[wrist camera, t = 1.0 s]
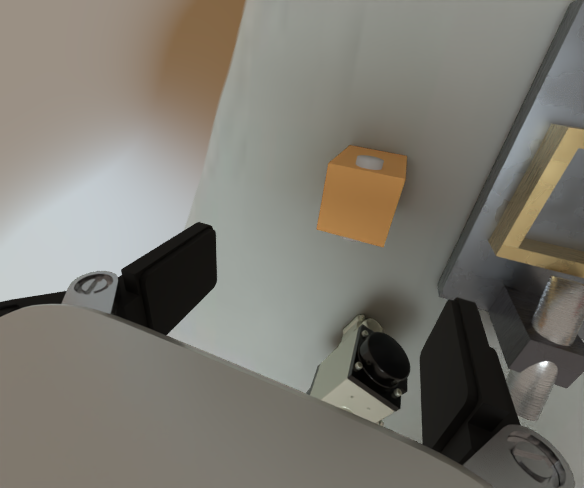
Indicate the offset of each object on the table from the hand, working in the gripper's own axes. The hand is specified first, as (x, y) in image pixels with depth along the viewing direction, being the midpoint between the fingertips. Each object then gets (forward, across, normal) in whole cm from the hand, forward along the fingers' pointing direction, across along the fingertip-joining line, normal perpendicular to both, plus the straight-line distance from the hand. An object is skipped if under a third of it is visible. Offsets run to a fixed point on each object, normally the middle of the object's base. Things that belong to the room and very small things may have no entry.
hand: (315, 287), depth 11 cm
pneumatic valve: (+18, -4, +18) cm, 26 cm away
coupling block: (+18, 0, 0) cm, 18 cm away
